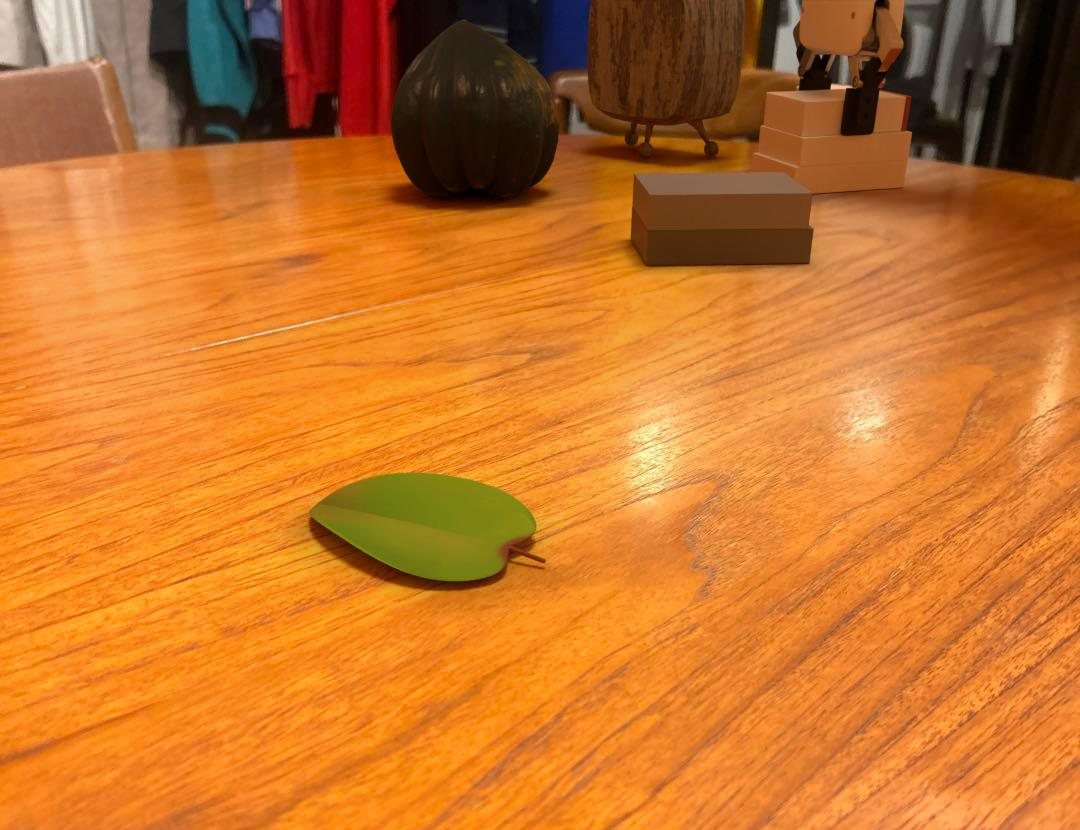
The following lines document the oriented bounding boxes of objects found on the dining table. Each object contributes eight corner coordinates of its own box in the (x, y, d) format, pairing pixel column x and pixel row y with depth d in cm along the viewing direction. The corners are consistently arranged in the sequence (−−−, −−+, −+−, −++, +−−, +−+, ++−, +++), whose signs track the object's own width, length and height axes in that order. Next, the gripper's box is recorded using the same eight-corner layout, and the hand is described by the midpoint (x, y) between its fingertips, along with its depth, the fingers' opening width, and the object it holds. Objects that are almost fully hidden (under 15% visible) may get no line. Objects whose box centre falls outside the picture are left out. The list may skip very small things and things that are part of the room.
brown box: (781, 237, 86) (788, 171, 84) (809, 263, 79) (818, 192, 77) (630, 238, 85) (633, 172, 83) (646, 265, 78) (649, 194, 76)
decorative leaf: (379, 621, 38) (376, 599, 38) (298, 508, 45) (295, 488, 44) (569, 556, 41) (568, 535, 41) (467, 459, 48) (465, 440, 47)
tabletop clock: (734, 157, 117) (758, -114, 105) (686, 169, 111) (705, -117, 99) (627, 142, 125) (637, -110, 113) (577, 153, 119) (582, -113, 107)
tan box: (863, 120, 107) (867, 87, 106) (906, 131, 101) (911, 96, 100) (763, 126, 104) (766, 91, 102) (801, 137, 98) (805, 101, 97)
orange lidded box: (855, 172, 110) (863, 119, 108) (903, 187, 103) (912, 132, 101) (750, 179, 107) (755, 125, 104) (792, 195, 100) (799, 138, 98)
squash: (504, 153, 87) (546, -8, 90) (343, 148, 92) (386, -4, 95) (555, 242, 100) (590, 99, 103) (411, 234, 105) (448, 98, 108)
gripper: (962, -91, 88) (923, 141, 97) (842, -88, 102) (818, 114, 111) (882, -92, 86) (850, 145, 94) (771, -88, 100) (752, 117, 109)
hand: (833, 126), depth 103 cm, fingers closed on tan box, 7 cm apart
